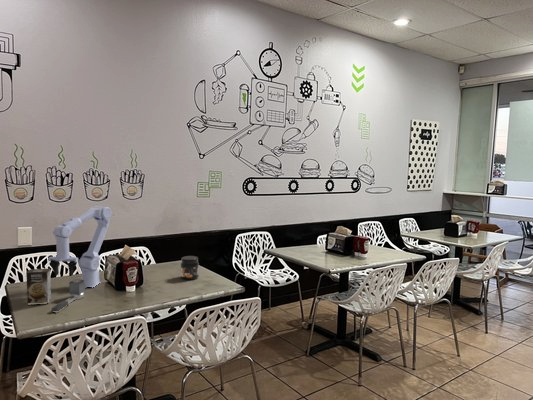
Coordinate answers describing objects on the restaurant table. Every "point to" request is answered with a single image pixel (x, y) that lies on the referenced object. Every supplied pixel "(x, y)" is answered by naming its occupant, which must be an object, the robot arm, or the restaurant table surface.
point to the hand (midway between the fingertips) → (63, 275)
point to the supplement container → (189, 268)
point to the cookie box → (38, 286)
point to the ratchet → (66, 302)
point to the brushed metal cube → (76, 287)
